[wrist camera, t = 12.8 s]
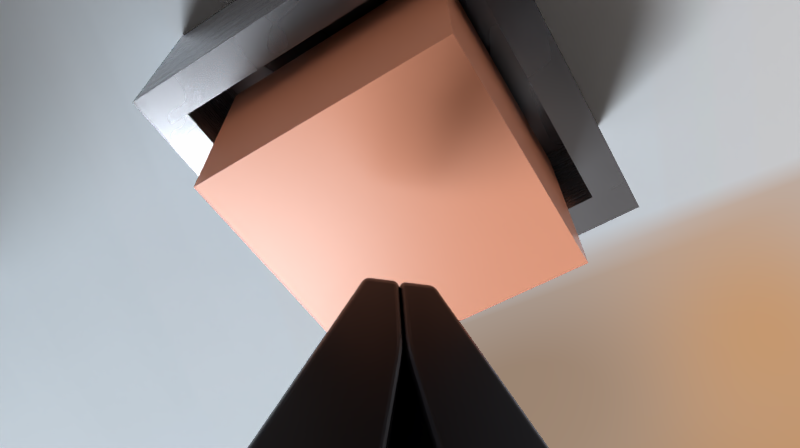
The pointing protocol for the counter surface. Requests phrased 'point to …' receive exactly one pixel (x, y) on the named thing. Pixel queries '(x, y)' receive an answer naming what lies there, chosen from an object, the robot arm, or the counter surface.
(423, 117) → the button
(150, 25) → the counter surface
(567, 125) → the button housing
